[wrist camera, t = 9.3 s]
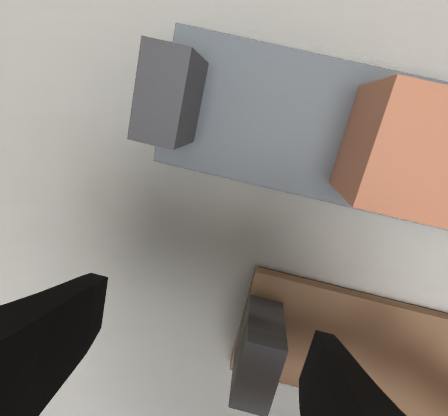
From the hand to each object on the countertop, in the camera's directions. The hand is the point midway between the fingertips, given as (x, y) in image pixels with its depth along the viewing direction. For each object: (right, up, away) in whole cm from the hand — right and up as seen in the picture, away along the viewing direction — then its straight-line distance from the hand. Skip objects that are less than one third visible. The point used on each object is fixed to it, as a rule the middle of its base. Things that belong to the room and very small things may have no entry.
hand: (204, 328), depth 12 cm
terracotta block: (+9, +7, +6) cm, 13 cm away
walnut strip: (+10, -5, +10) cm, 15 cm away
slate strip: (+5, +8, +7) cm, 12 cm away
